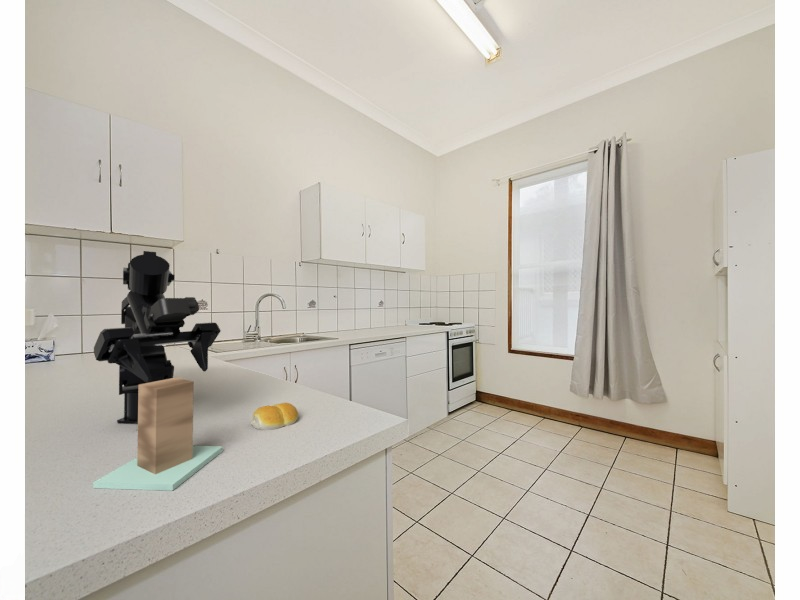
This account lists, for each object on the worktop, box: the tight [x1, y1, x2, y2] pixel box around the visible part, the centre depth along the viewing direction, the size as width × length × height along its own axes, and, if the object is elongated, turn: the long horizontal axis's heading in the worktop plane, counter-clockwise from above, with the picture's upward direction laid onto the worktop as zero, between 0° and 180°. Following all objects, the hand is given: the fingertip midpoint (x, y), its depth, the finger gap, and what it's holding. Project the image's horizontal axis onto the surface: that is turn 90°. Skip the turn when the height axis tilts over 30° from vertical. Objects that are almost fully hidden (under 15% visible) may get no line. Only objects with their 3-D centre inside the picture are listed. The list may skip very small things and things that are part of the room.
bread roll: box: [250, 402, 299, 431], centre depth 66 cm, size 8×9×4 cm
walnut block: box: [136, 377, 195, 474], centre depth 47 cm, size 5×5×12 cm
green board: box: [92, 445, 224, 492], centre depth 47 cm, size 11×11×1 cm
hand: (179, 375), depth 57 cm, fingers open, 9 cm apart
